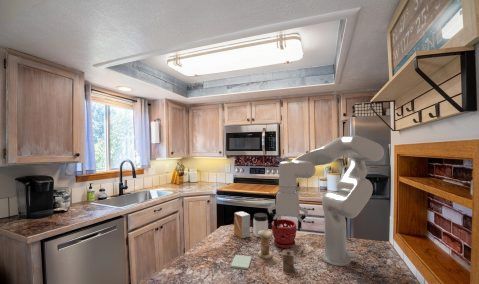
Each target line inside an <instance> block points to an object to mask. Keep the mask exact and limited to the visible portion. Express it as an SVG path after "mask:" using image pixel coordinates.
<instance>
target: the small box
mask: <svg viewBox="0 0 479 284" xmlns="http://www.w3.org/2000/svg"><path fill="white" fill-rule="evenodd" d="M233 214H234V215H233V234H234V235H236V236H237V237H239V238H241V239H244V238H248V237H250V236H251V214H249V213H247V212H245V211H236V212H234V213H233Z"/></svg>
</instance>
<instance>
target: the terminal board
mask: <svg viewBox="0 0 479 284" xmlns="http://www.w3.org/2000/svg"><path fill="white" fill-rule="evenodd" d="M252 258H253V257H252V255H251V256H249V255H241V254H240V255H239V254H235V255H234V257H233V259H232V261H231V264H230V268H232V269H241V270H249V268H250V266H251V261H252Z"/></svg>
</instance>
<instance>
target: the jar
mask: <svg viewBox="0 0 479 284" xmlns="http://www.w3.org/2000/svg"><path fill="white" fill-rule="evenodd" d="M252 221H253V233H252V234H253V235H254V236H255V238H261V237H260V236H258V232H259V231H261V230H268V231H269V220H268V215H267V213H264V212H257V213H254V214H253V220H252Z"/></svg>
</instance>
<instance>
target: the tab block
mask: <svg viewBox="0 0 479 284" xmlns="http://www.w3.org/2000/svg"><path fill="white" fill-rule="evenodd" d="M294 257H295V256H294V251H293V250H290V248H286V249H284V250H282V272H285V273H286V272H288V273H295V269H294V268H295V266H294V263H295V259H294Z"/></svg>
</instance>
